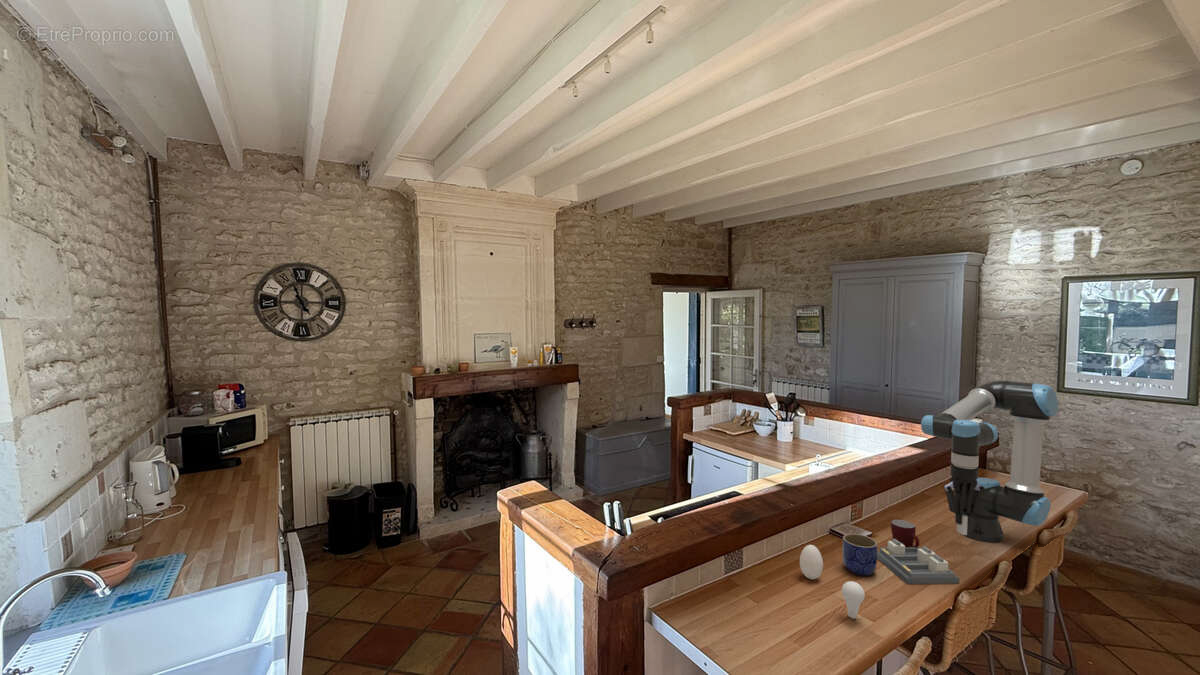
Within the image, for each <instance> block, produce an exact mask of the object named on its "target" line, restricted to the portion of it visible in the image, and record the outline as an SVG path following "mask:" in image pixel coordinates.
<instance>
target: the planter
mask: <svg viewBox="0 0 1200 675" xmlns="http://www.w3.org/2000/svg"><path fill="white" fill-rule="evenodd" d="M877 552H878V542H877V541H876V540H875V539H873V538H872V537H870V536H867V535H864V534H860V533H846V534H844V535H843V537H842V561H843V563H844V566H845V567H846V569H847V570H848V571H849V572H851V573H853V574H856V575H858V576H870V575H872V574H873V573H874V572H875V571H876V568H877V563H878V559H877Z"/></svg>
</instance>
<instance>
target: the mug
mask: <svg viewBox="0 0 1200 675" xmlns="http://www.w3.org/2000/svg"><path fill="white" fill-rule="evenodd" d="M916 531H917V530H916V524H915V523H913V522H911V521H908V520H903V519H893V520H891V522H890V532H891V536H892V539H896V540H897V541H899V542H900V543H902V544H903V545H904V546H905V547H919V546H920V538H919V537H918V536H917V535H916ZM914 541H915V542H914ZM914 543H915V545H914Z"/></svg>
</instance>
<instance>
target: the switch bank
mask: <svg viewBox="0 0 1200 675" xmlns="http://www.w3.org/2000/svg"><path fill="white" fill-rule="evenodd" d="M917 549H922V547H921V548H920V547H919V546H918V547H905V555H891V554H890V553H889V552H888V551H887V550H888V547H879V551H877V560H878V561H879V562H880V563H882V564H883V565H885V566H886V568H888V569H889V570H890V571H891V572H892V573H894V575H896V576H897V577H898V578H899V579H900V580H901V581H902V582H904V583H905V584H906V585H917V584H918V585H920V584H922V585H923V584H929V585H931V584H935V585H936V584H941V585H942V584H960V577H959V576H958V575H956V573H955V572H954V571H952V570H951V569H950V568H948V572H931V571H930V570H928V566H929V563H919V562H918V561H917Z"/></svg>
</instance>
